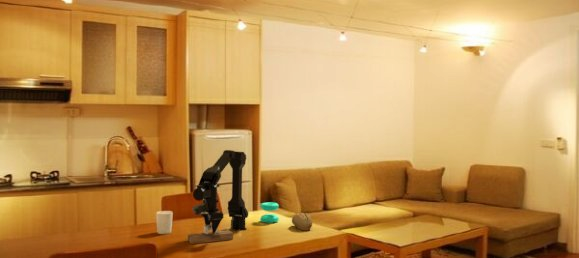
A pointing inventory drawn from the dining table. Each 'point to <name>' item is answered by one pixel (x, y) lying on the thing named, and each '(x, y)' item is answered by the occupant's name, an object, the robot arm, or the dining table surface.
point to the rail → (210, 237)
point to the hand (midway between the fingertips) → (210, 230)
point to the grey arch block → (208, 227)
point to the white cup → (164, 222)
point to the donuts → (269, 217)
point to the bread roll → (302, 221)
